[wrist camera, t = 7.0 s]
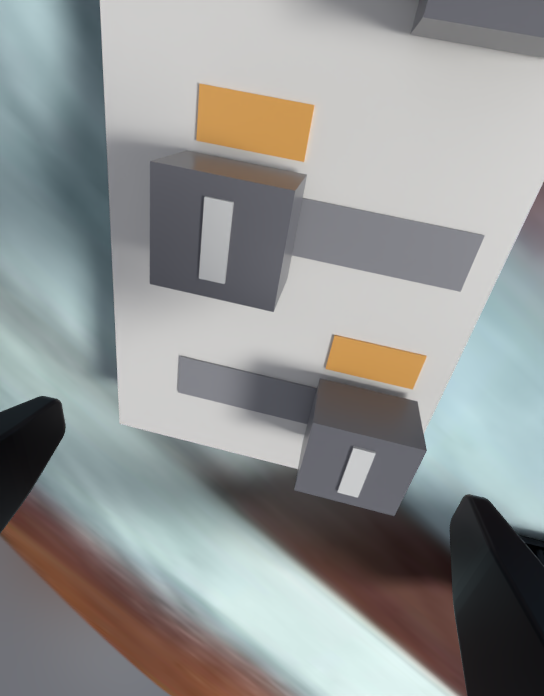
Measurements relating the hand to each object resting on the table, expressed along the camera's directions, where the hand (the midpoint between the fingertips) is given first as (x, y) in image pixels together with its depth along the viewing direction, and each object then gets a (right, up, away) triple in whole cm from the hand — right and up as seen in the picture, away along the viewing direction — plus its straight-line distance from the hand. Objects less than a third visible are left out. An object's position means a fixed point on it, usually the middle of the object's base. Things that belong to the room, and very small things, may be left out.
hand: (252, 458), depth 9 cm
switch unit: (+2, +8, +8) cm, 12 cm away
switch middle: (-1, +7, +5) cm, 9 cm away
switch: (+4, -1, +9) cm, 10 cm away
